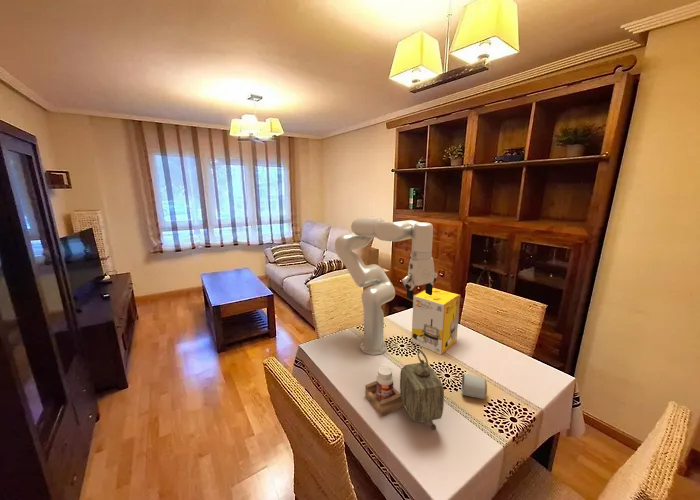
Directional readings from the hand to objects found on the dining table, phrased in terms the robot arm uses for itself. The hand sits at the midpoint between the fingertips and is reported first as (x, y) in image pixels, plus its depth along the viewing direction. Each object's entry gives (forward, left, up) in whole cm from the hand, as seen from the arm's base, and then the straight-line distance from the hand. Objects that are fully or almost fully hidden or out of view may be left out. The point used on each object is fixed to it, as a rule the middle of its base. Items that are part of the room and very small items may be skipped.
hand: (419, 296), depth 112 cm
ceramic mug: (+19, +11, -35) cm, 41 cm away
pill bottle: (+7, -21, -33) cm, 40 cm away
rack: (+7, -21, -34) cm, 41 cm away
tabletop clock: (+19, -15, -34) cm, 42 cm away
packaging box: (-14, +24, -35) cm, 44 cm away
